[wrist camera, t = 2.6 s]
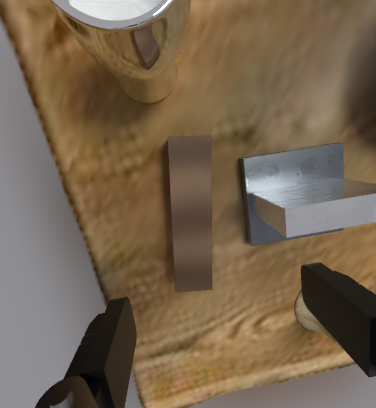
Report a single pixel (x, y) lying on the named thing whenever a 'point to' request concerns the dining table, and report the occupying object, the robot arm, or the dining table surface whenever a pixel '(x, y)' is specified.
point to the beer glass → (131, 40)
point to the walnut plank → (191, 211)
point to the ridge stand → (302, 194)
